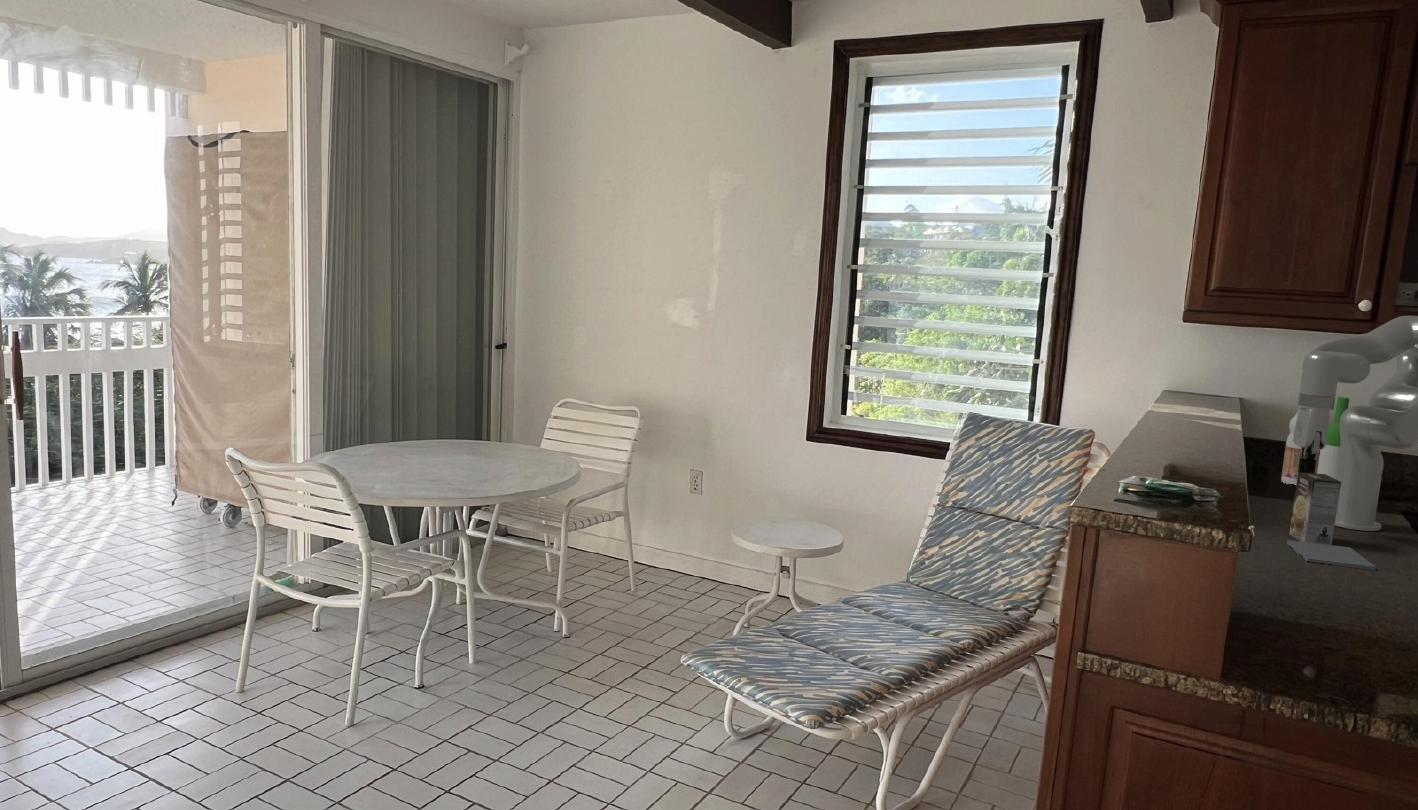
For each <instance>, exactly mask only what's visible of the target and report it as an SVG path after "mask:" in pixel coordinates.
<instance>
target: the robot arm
mask: <svg viewBox="0 0 1418 810" xmlns="http://www.w3.org/2000/svg"><path fill="white" fill-rule="evenodd" d="M1394 358H1396V368H1395V369H1396V370H1395V372H1394V374H1393V375H1392V376H1391V377H1390V378H1389V379H1387V381H1386V382H1384V383H1383V384H1382V385H1381V386H1380V387H1379V388H1378V389H1377V390H1376V391H1375V392H1374V393H1373V394H1372V396H1371V397H1370V399H1369V402H1368V405H1353V406H1350V407H1348V409H1346V410H1345V411H1344V412H1343V413H1342V415H1341V418H1340V424H1339V425H1340V439H1341V445H1340V456H1339V463H1338V470H1337V477H1336V480H1338V481H1340V482H1341V488H1340V494H1339V500H1338V507H1337V513H1336V520H1335V526H1334V527H1338V528H1339V527H1340V528H1342V529H1343V528H1344V529H1349V530H1355V531H1356V530H1357V531H1363V532H1364V531H1366V532H1377V531H1381V530H1382V526H1383V525H1382V524H1381V523H1379V522H1377V521H1376V517H1377V516H1376V515H1377V508H1378V502H1379V494H1380V489H1381V483H1382V476H1383V471H1384V457H1383V455H1382V453H1381V452H1382V451H1381V450H1380V449H1379V446H1381V447H1386V448H1393V449H1400V450H1406V449H1407V450H1408V449H1410V448H1413V447H1414V446H1415V445H1417V444H1418V315H1401V316H1398V317H1395V318H1393V319H1391V320H1388V321H1387V322H1385V323H1383V324H1382V325H1380V326H1378V327H1376V328H1374V329H1372V330H1371V331H1369V332H1366V333H1361V334H1357V335H1352V336H1347V337H1343V338H1338V339H1333V340H1331V341H1327V342H1324V343H1322V344H1321V345H1319V346H1317V347H1315V348H1314V349H1312V350H1311V351H1309V353H1307V354H1306V355H1305V356H1304V359H1303V361H1302V374H1301V380H1300V388H1299V394H1298V400H1297V401H1298V402H1297V407H1299V408H1300V409H1299V408H1298V410H1299V412H1298V411H1297V412H1298V416H1297V421H1296V426H1295V431H1294V436H1293V442H1294V443H1295V444H1297V445H1299V446H1301V451H1300V457H1301V458H1300V460H1299V467H1298V472H1301V473H1315V466H1316V460H1317V455H1318V454H1319V449H1323V448H1325V446H1326V441H1327V434H1328V426H1329V425H1330V422H1329V421H1330V411H1333V410H1335V409H1334V408H1335V404H1336V403H1335V402H1336V396H1337V389H1338V383H1340V384H1341V383H1342V384H1348V385H1349V384H1354V385H1355V384H1358V383H1361V382H1363V381H1365V380H1366V379H1367V378H1368V376H1369V375H1370V372H1371V365H1377V364H1383V363H1386V362H1389V361H1392V359H1394Z"/></svg>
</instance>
